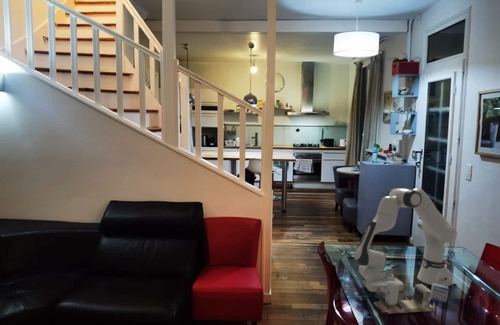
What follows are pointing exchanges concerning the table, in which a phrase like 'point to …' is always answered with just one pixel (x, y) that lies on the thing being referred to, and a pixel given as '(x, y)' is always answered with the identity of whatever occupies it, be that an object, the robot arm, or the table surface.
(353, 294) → the table surface
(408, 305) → the rail
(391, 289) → the white tall block
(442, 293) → the medicine box
